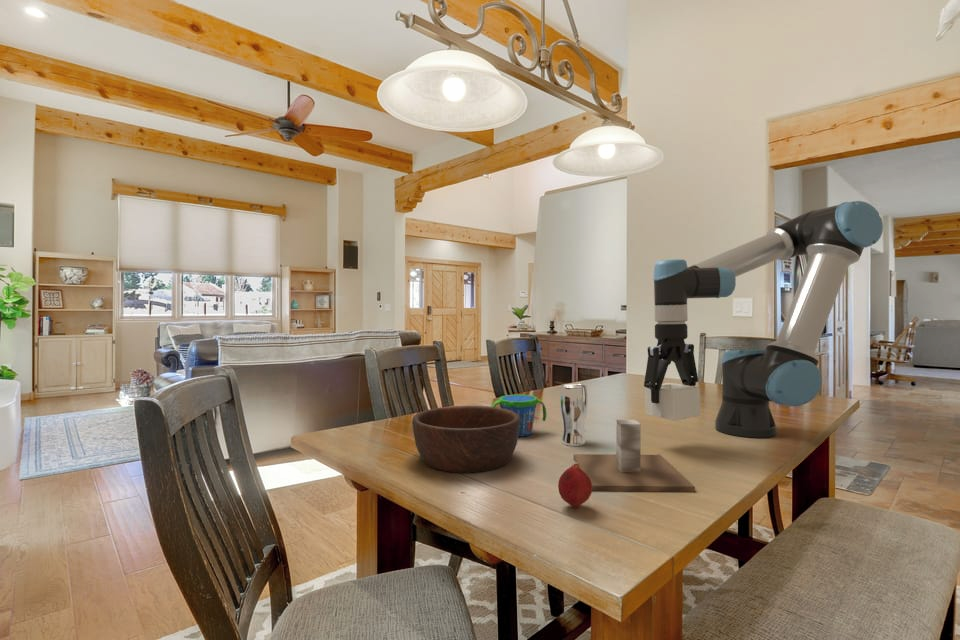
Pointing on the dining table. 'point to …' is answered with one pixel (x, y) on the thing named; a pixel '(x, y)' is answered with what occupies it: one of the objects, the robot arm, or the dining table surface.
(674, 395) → the white square sleeve
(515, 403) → the snack cup
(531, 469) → the dining table surface
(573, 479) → the onion
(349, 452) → the dining table surface
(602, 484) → the post base
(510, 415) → the wooden bowl
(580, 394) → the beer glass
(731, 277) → the robot arm
